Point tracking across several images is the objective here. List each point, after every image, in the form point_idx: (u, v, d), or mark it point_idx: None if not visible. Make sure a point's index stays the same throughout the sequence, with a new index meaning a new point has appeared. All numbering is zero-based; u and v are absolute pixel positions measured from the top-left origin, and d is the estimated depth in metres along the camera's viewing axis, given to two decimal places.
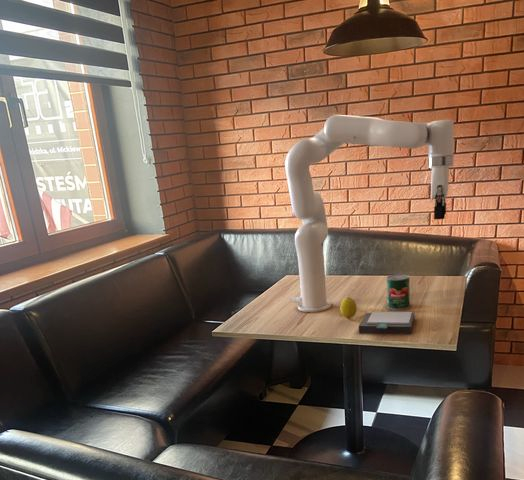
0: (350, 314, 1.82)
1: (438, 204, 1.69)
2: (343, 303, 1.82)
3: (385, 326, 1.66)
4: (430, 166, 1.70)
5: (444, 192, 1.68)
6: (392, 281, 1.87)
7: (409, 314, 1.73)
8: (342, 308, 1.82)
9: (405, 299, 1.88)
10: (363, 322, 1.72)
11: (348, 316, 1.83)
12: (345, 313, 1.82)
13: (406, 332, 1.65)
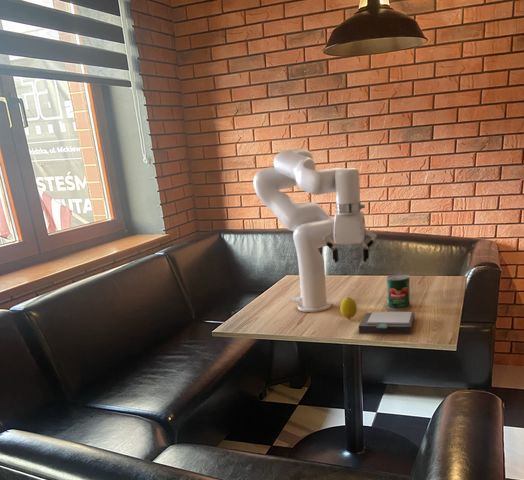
0: (350, 314, 1.82)
1: None
2: (343, 303, 1.82)
3: (385, 326, 1.66)
4: None
5: (333, 238, 1.76)
6: (392, 281, 1.87)
7: (409, 314, 1.73)
8: (342, 308, 1.82)
9: (405, 299, 1.88)
10: (363, 322, 1.72)
11: (348, 316, 1.83)
12: (345, 313, 1.82)
13: (406, 332, 1.65)
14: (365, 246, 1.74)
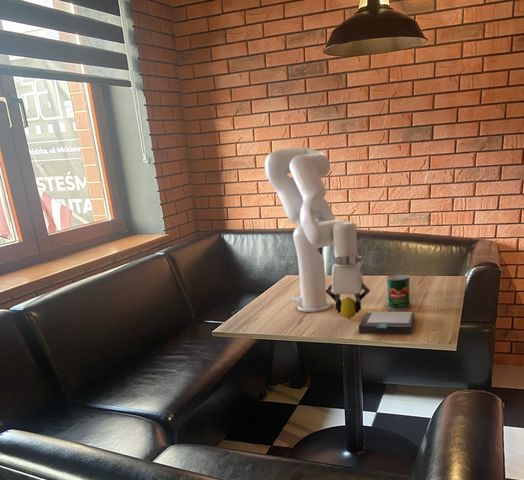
0: (350, 314, 1.82)
1: None
2: (343, 303, 1.82)
3: (385, 326, 1.66)
4: None
5: None
6: (392, 281, 1.87)
7: (409, 314, 1.73)
8: (342, 308, 1.82)
9: (405, 299, 1.88)
10: (363, 322, 1.72)
11: (348, 316, 1.83)
12: (345, 313, 1.82)
13: (406, 332, 1.65)
14: (357, 298, 1.80)
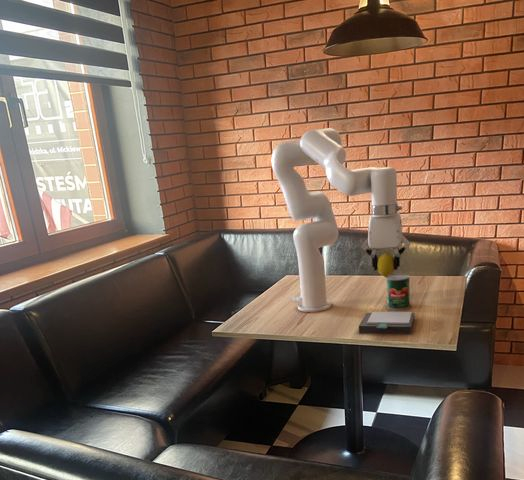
0: (388, 271, 1.66)
1: None
2: (380, 259, 1.66)
3: (385, 326, 1.66)
4: None
5: None
6: (392, 281, 1.87)
7: (409, 314, 1.73)
8: (379, 264, 1.66)
9: (405, 299, 1.88)
10: (363, 322, 1.72)
11: (386, 273, 1.67)
12: (382, 270, 1.66)
13: (406, 332, 1.65)
14: (397, 253, 1.64)
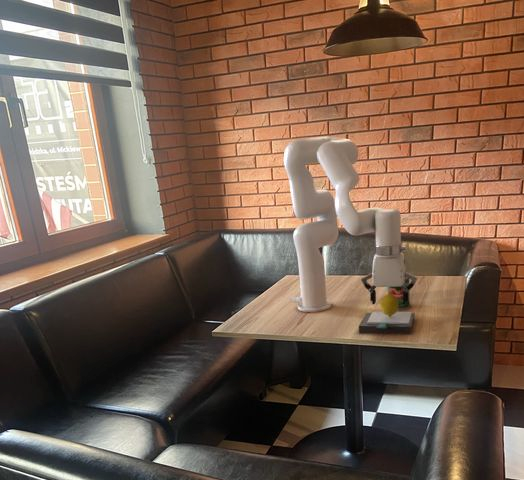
0: (392, 311, 1.70)
1: None
2: (384, 299, 1.70)
3: (385, 326, 1.66)
4: None
5: (372, 279, 1.69)
6: None
7: (409, 314, 1.73)
8: (383, 305, 1.70)
9: None
10: (363, 322, 1.72)
11: (389, 313, 1.71)
12: (386, 310, 1.70)
13: (406, 332, 1.65)
14: (405, 289, 1.67)
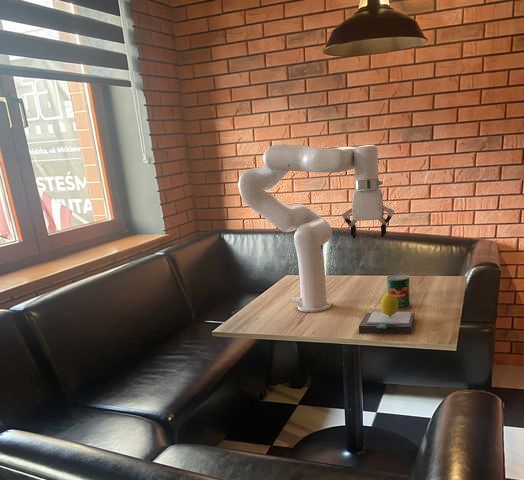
0: (392, 311, 1.70)
1: None
2: (384, 299, 1.70)
3: (385, 326, 1.66)
4: None
5: (352, 214, 1.80)
6: (392, 281, 1.87)
7: (409, 314, 1.73)
8: (383, 305, 1.70)
9: (405, 299, 1.88)
10: (363, 322, 1.72)
11: (389, 313, 1.71)
12: (386, 310, 1.70)
13: (406, 332, 1.65)
14: (383, 222, 1.78)
